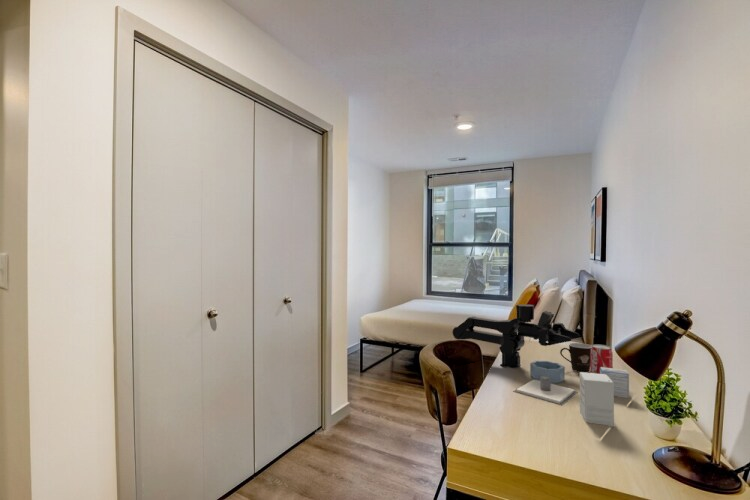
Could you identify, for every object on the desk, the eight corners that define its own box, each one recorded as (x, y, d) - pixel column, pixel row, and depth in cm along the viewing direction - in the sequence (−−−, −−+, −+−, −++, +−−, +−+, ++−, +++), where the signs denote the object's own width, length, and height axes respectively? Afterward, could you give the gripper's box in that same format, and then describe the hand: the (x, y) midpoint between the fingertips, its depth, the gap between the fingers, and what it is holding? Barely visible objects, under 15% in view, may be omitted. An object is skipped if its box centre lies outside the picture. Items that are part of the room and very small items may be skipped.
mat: (512, 393, 126) (512, 391, 126) (531, 381, 137) (531, 380, 137) (561, 407, 114) (561, 405, 114) (578, 393, 125) (578, 391, 125)
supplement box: (607, 416, 108) (607, 373, 108) (614, 427, 101) (614, 382, 101) (579, 412, 110) (579, 371, 110) (584, 423, 103) (584, 379, 103)
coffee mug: (593, 368, 152) (593, 344, 152) (592, 374, 144) (592, 349, 144) (562, 364, 158) (561, 341, 158) (559, 369, 151) (559, 345, 151)
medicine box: (626, 394, 124) (626, 369, 124) (629, 399, 120) (629, 373, 120) (599, 391, 127) (599, 366, 127) (601, 395, 123) (601, 370, 123)
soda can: (606, 377, 141) (606, 344, 141) (616, 384, 134) (616, 349, 134) (586, 376, 142) (586, 343, 142) (596, 383, 134) (596, 348, 134)
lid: (516, 391, 125) (516, 377, 126) (533, 381, 135) (533, 368, 135) (559, 403, 115) (559, 388, 115) (574, 391, 125) (574, 377, 125)
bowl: (526, 379, 140) (526, 364, 140) (538, 372, 147) (538, 359, 147) (557, 386, 132) (557, 371, 132) (567, 379, 139) (567, 365, 139)
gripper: (523, 313, 142) (566, 319, 130) (542, 308, 155) (583, 313, 143) (523, 342, 142) (566, 350, 130) (542, 334, 155) (583, 341, 143)
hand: (575, 337), depth 137 cm, fingers open, 9 cm apart
